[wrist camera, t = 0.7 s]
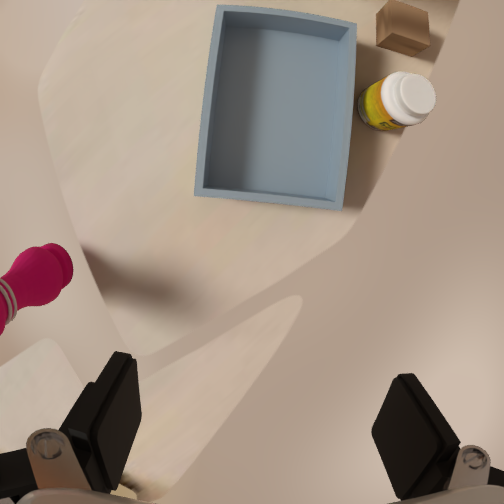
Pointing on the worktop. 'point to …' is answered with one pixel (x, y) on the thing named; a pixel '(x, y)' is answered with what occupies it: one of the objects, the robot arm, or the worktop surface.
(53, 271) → the pepper mill
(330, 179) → the tote
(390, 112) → the supplement bottle
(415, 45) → the walnut cube
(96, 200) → the worktop surface
